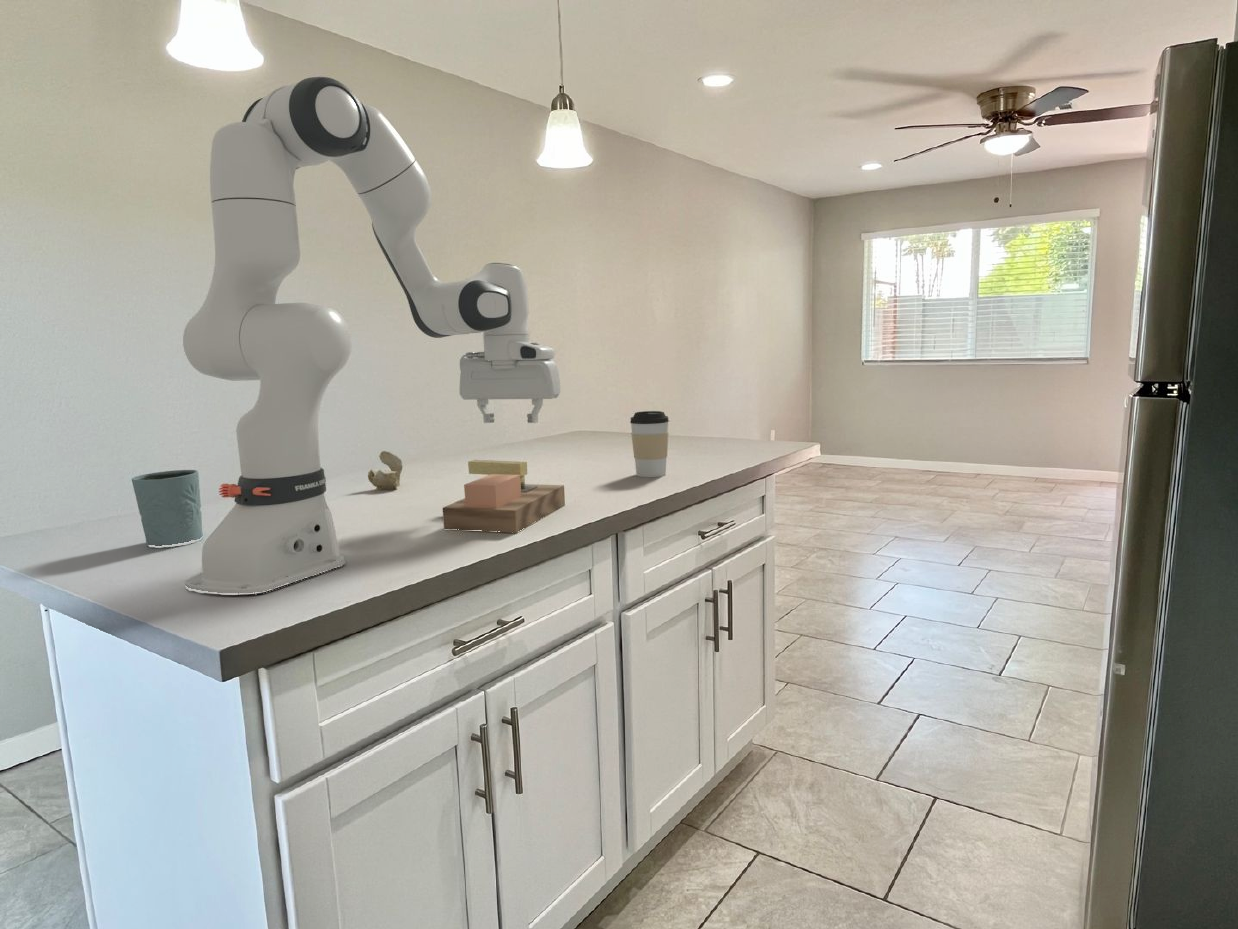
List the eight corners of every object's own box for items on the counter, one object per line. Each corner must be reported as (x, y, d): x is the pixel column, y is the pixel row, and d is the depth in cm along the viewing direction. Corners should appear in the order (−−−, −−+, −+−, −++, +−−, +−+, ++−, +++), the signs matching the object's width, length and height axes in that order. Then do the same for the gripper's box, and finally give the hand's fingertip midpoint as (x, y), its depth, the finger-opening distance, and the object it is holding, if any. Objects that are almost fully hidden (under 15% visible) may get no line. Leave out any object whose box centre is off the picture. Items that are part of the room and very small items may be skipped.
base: (516, 533, 133) (515, 509, 133) (444, 529, 138) (442, 506, 137) (564, 505, 154) (563, 484, 153) (500, 502, 158) (499, 482, 158)
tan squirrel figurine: (379, 487, 171) (367, 446, 174) (368, 499, 176) (357, 459, 178) (415, 484, 177) (402, 444, 180) (403, 495, 182) (391, 457, 184)
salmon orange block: (496, 508, 135) (495, 485, 134) (465, 507, 137) (464, 484, 136) (521, 496, 144) (520, 475, 144) (492, 495, 146) (490, 474, 145)
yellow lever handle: (528, 486, 151) (526, 461, 151) (521, 488, 149) (519, 464, 148) (476, 483, 157) (475, 459, 156) (469, 485, 154) (468, 461, 154)
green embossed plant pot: (173, 551, 130) (163, 480, 128) (126, 548, 133) (116, 479, 131) (220, 535, 140) (211, 469, 138) (175, 533, 143) (166, 468, 141)
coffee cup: (645, 470, 190) (643, 408, 187) (677, 472, 184) (676, 409, 182) (624, 476, 182) (621, 412, 180) (656, 479, 177) (654, 413, 175)
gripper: (451, 352, 151) (455, 424, 153) (548, 349, 144) (552, 424, 146) (467, 352, 157) (471, 421, 159) (562, 349, 150) (564, 421, 152)
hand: (510, 422), depth 152 cm, fingers open, 8 cm apart
